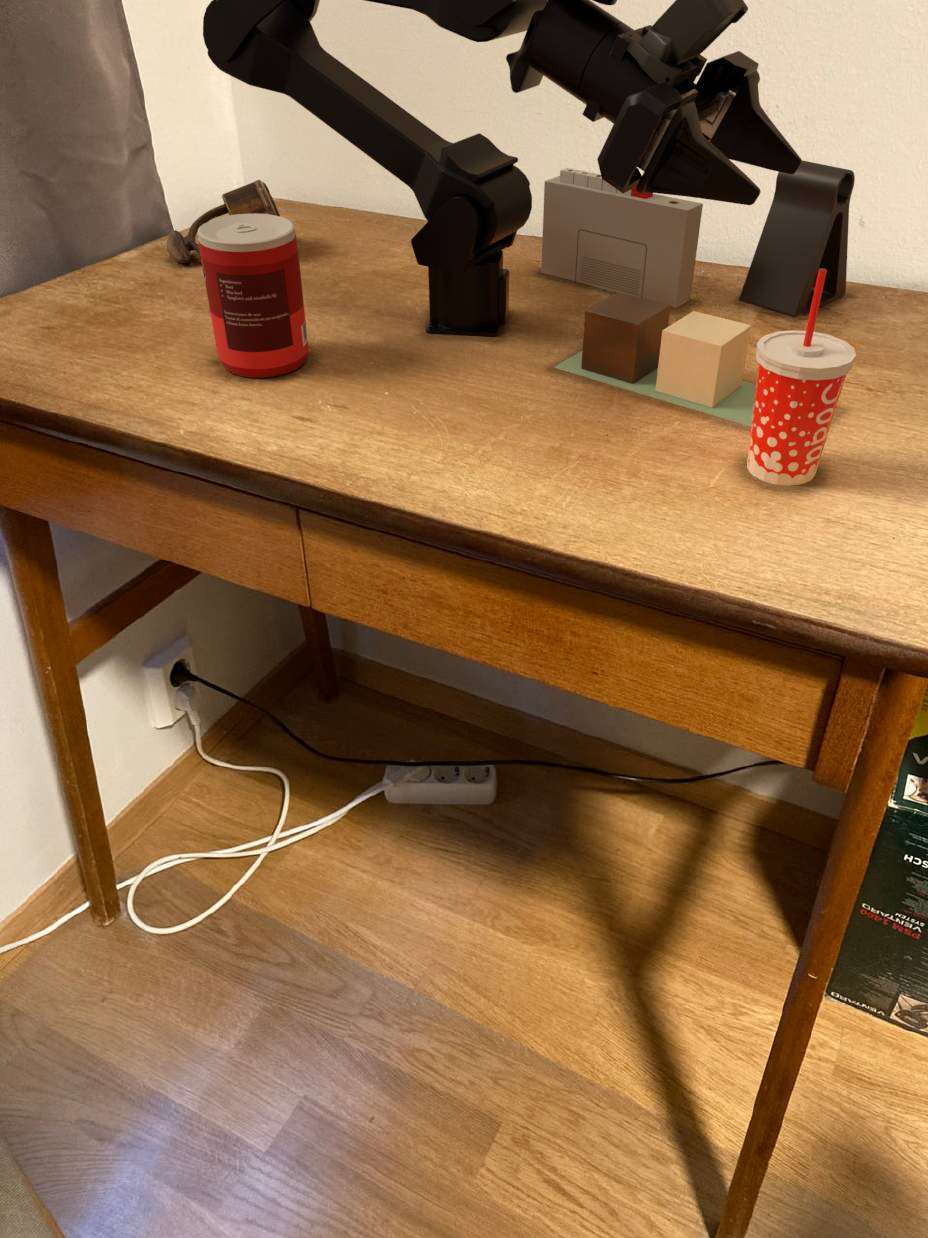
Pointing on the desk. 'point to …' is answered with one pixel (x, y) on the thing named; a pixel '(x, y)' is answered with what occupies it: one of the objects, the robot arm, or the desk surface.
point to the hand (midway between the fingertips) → (778, 182)
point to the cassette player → (619, 238)
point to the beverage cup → (796, 399)
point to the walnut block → (623, 337)
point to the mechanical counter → (235, 202)
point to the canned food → (254, 293)
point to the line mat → (730, 408)
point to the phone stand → (802, 241)
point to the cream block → (702, 358)
